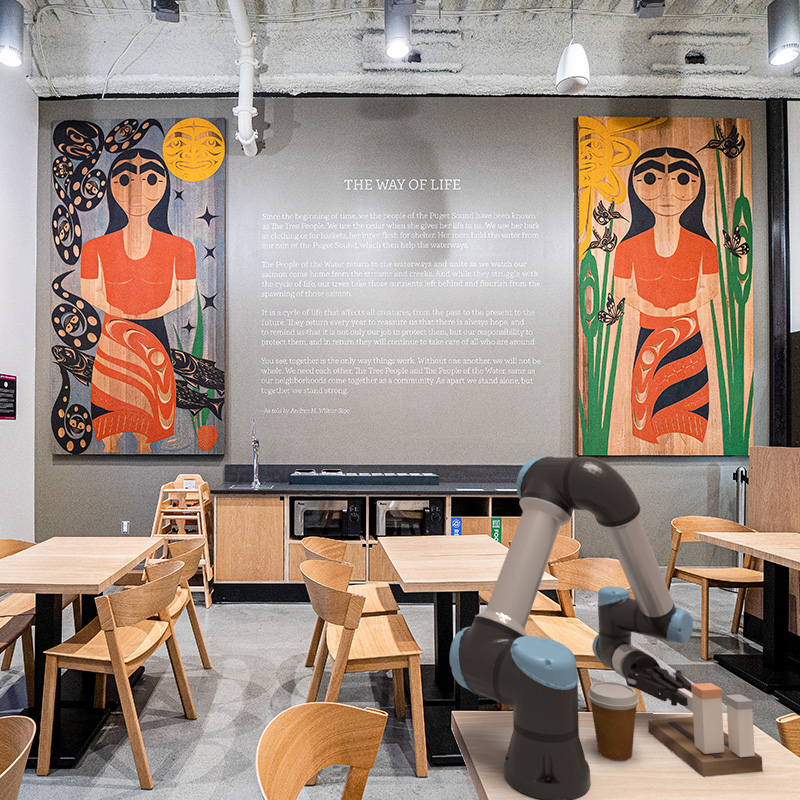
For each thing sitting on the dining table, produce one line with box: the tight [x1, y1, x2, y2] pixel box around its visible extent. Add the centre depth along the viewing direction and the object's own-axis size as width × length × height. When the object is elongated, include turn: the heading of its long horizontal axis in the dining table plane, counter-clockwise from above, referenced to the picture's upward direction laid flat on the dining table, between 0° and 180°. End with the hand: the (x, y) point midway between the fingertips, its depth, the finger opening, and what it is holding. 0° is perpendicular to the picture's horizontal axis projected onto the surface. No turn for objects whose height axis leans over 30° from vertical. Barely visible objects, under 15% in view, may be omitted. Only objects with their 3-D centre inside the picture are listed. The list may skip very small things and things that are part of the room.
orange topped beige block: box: [691, 682, 724, 754], centre depth 116 cm, size 3×4×11 cm
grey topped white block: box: [725, 694, 756, 757], centre depth 115 cm, size 3×3×10 cm
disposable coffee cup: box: [587, 681, 639, 762], centre depth 121 cm, size 10×10×12 cm
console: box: [647, 716, 764, 777], centre depth 121 cm, size 18×12×4 cm, turn 9°
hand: (701, 708), depth 118 cm, fingers closed
